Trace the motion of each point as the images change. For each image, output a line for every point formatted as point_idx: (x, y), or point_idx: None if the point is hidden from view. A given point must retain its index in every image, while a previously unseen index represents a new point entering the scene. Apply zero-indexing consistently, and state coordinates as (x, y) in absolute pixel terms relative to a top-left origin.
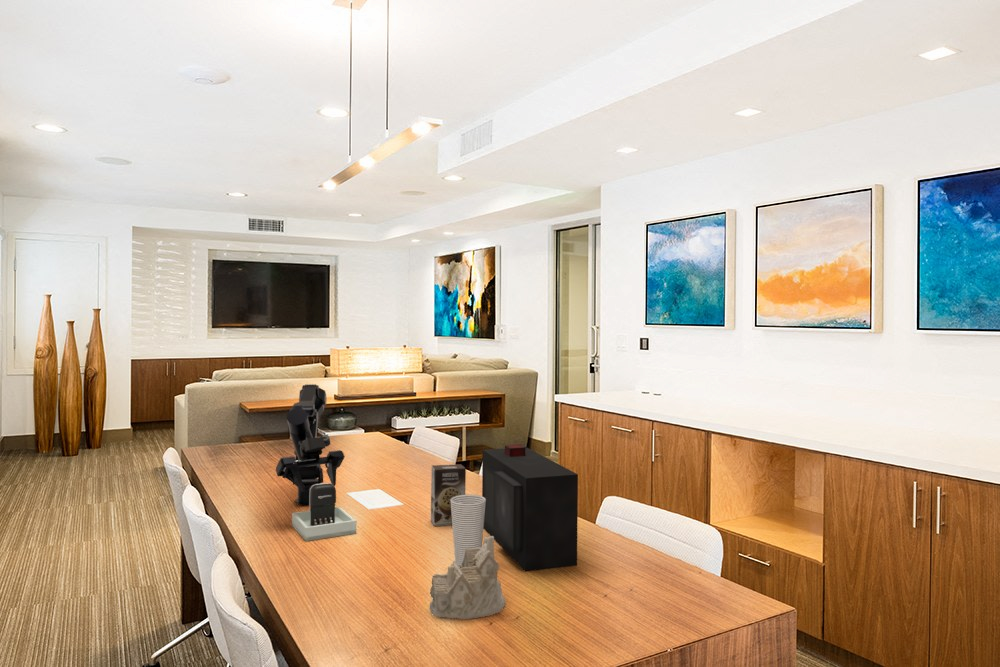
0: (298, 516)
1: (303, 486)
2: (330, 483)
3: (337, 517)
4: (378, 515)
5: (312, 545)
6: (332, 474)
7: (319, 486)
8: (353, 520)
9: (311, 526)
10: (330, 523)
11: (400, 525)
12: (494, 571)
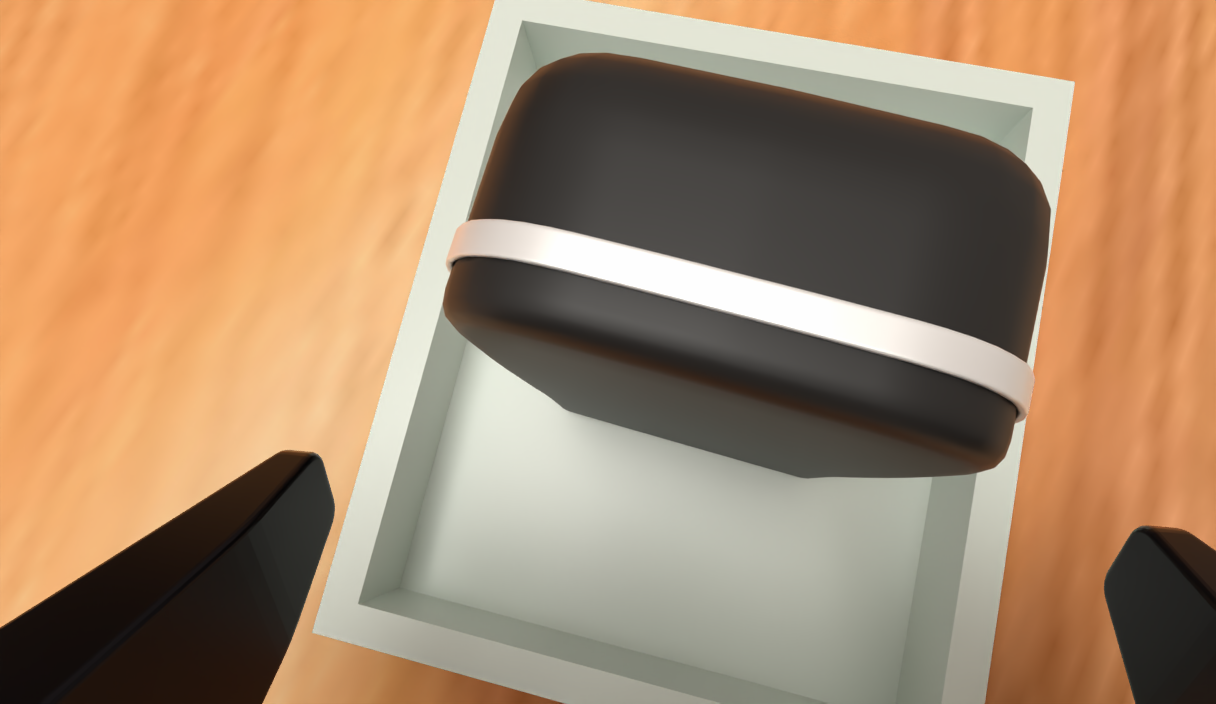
0: (961, 576)
1: (1208, 571)
2: (525, 224)
3: (429, 538)
4: (37, 418)
5: (997, 19)
6: (105, 675)
7: (902, 139)
8: (520, 6)
9: (996, 93)
10: (770, 62)
11: (115, 22)
12: None
